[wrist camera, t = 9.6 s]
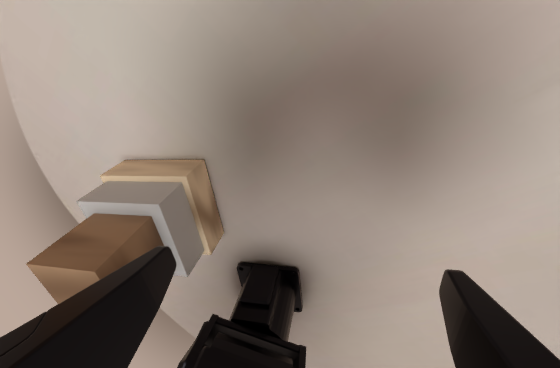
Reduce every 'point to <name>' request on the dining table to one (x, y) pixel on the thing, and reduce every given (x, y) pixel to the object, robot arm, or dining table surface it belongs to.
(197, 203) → the beech base block
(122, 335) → the robot arm
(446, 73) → the dining table surface
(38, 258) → the walnut cube
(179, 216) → the grey block
